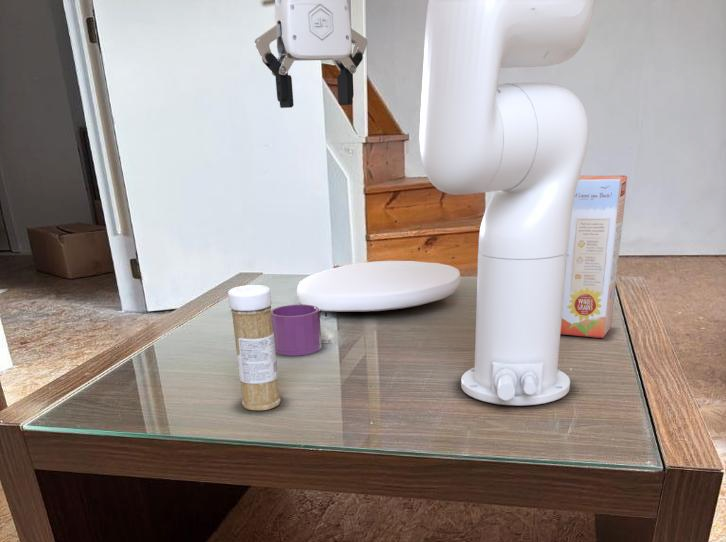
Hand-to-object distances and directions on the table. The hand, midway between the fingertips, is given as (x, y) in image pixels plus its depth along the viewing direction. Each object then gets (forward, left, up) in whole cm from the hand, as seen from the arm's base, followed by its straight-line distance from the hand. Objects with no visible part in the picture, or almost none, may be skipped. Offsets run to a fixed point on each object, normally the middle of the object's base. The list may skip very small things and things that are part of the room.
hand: (316, 106), depth 106 cm
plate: (+8, -7, -31) cm, 33 cm away
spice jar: (-41, 0, -31) cm, 51 cm away
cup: (-19, +1, -31) cm, 36 cm away
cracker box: (-9, -36, -31) cm, 48 cm away
